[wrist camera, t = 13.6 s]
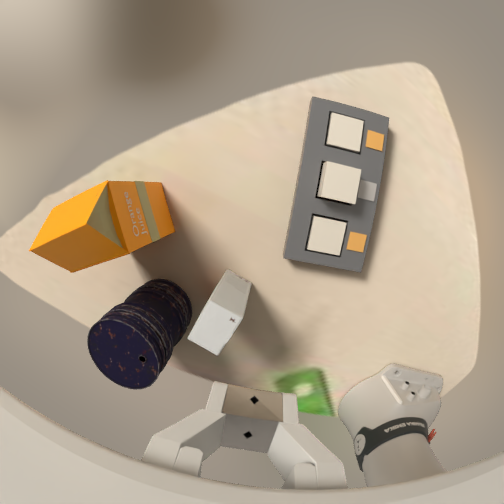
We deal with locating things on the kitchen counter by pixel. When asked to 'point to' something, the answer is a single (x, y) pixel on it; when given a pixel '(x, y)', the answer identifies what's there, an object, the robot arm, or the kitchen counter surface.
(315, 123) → the button panel
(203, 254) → the kitchen counter surface
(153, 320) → the dark blue cylinder
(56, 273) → the kitchen counter surface
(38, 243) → the orange juice
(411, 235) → the kitchen counter surface
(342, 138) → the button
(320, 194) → the middle button
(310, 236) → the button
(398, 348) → the kitchen counter surface
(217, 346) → the skincare box
